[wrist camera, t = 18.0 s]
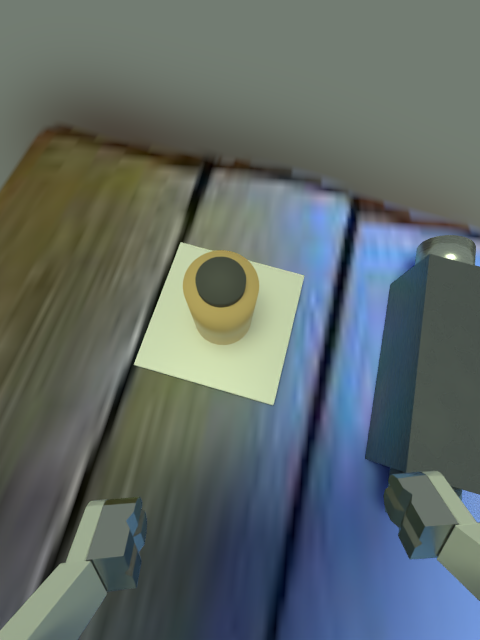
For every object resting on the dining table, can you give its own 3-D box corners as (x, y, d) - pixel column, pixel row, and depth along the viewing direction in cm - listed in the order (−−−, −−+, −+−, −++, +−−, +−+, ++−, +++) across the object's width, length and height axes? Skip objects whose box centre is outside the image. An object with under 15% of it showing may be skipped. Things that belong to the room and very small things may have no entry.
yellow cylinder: (236, 354, 26) (240, 330, 18) (184, 330, 26) (166, 296, 19) (260, 304, 27) (272, 262, 20) (210, 282, 28) (203, 232, 20)
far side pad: (271, 405, 26) (273, 405, 25) (137, 366, 26) (133, 364, 25) (301, 280, 29) (304, 275, 28) (182, 247, 30) (180, 242, 29)
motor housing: (434, 522, 24) (500, 558, 18) (359, 500, 24) (400, 527, 18) (454, 272, 30) (507, 239, 24) (394, 256, 30) (433, 220, 25)
